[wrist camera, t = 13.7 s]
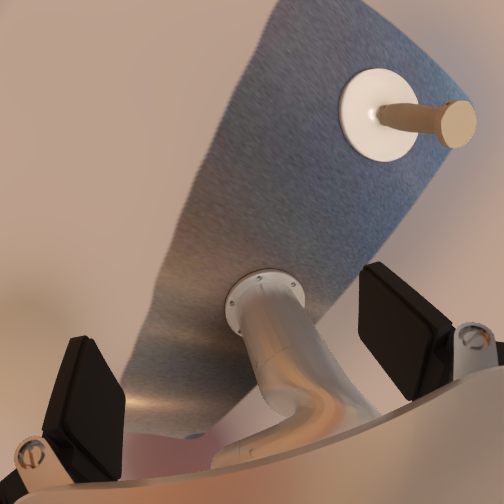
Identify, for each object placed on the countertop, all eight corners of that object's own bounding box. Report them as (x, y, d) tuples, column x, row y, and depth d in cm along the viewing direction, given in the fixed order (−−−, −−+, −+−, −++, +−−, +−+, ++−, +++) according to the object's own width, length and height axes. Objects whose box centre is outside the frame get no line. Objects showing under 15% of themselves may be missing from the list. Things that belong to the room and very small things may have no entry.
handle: (405, 120, 41) (480, 131, 28) (376, 140, 42) (449, 156, 28) (392, 91, 39) (468, 93, 26) (361, 110, 39) (435, 116, 26)
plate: (418, 153, 45) (424, 154, 44) (346, 167, 44) (351, 169, 43) (407, 68, 39) (413, 68, 38) (330, 72, 38) (335, 70, 37)
